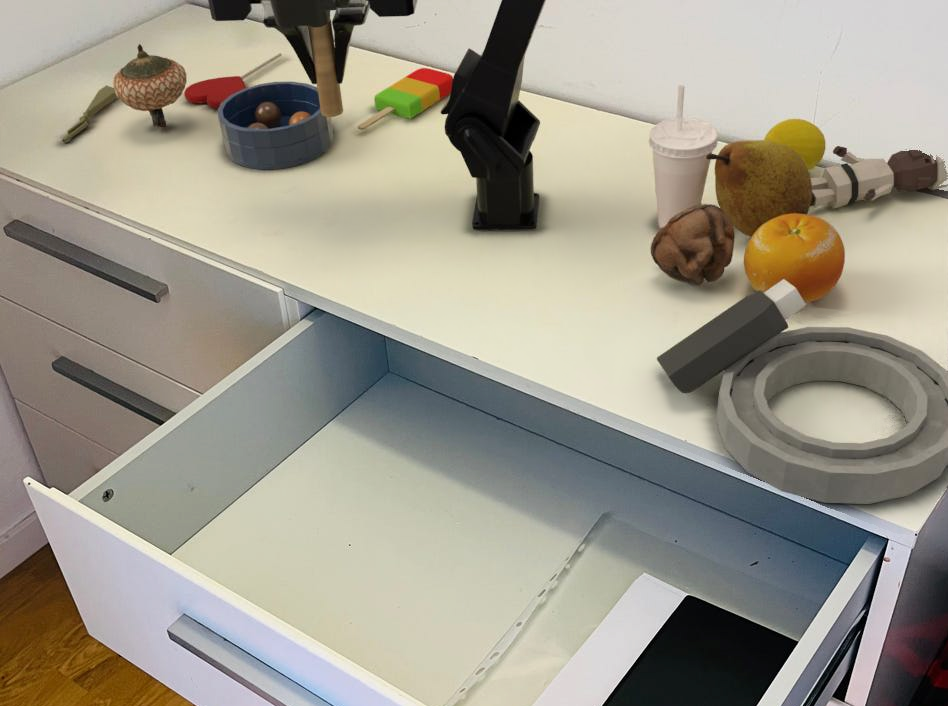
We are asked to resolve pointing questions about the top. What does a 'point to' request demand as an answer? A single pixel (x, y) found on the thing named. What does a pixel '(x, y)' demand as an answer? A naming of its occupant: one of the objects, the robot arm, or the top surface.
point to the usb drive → (730, 336)
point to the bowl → (282, 141)
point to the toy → (876, 177)
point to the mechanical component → (823, 462)
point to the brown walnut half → (695, 245)
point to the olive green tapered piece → (92, 110)
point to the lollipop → (219, 87)
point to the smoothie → (680, 161)
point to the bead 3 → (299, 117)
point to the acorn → (150, 84)
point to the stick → (325, 70)
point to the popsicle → (411, 95)
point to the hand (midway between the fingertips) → (327, 82)
